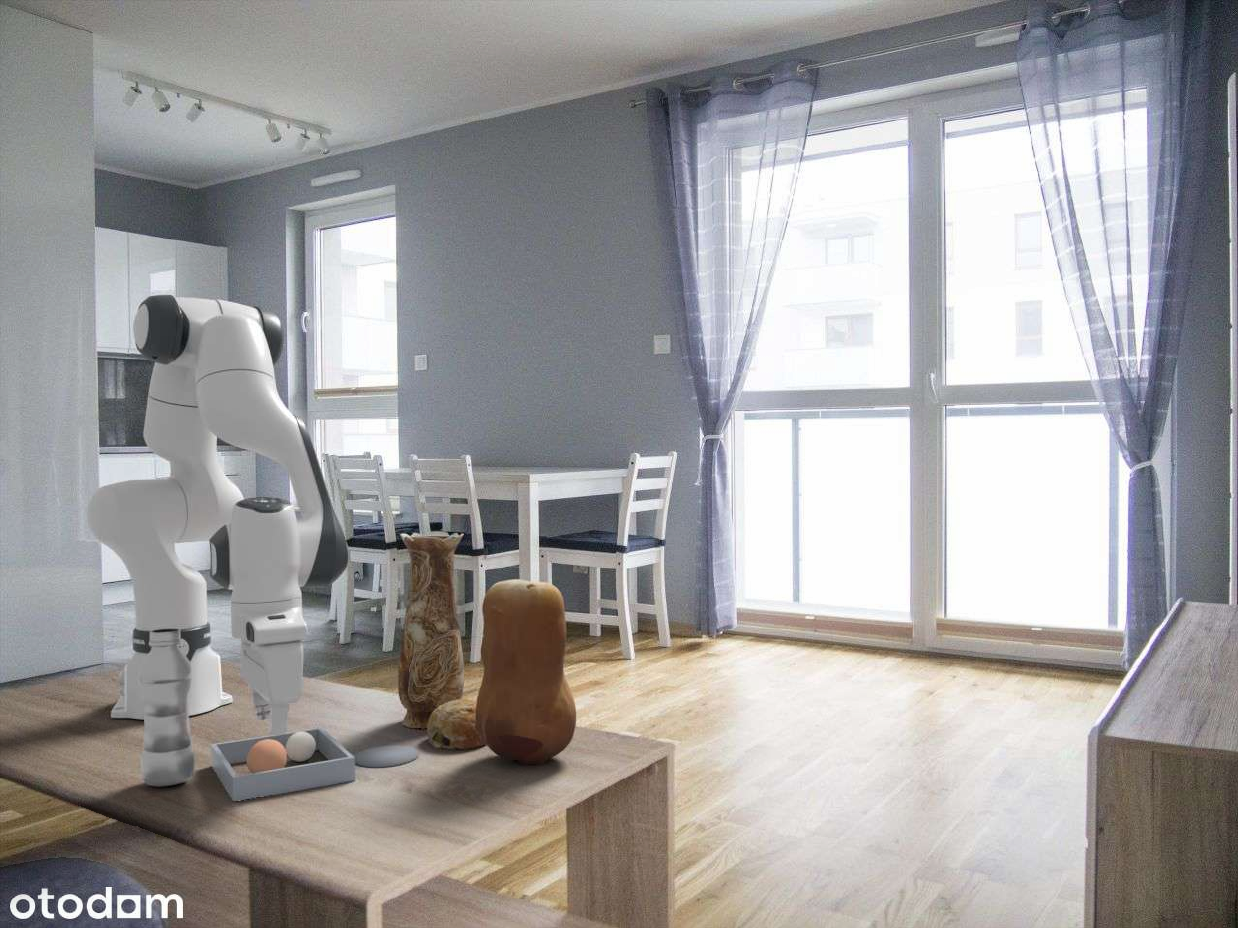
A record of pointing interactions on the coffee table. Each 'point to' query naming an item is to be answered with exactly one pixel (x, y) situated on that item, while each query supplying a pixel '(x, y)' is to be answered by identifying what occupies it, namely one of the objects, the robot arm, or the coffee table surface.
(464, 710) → the bread roll
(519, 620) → the butternut squash
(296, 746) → the cream ball
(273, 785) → the grey square frame
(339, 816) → the coffee table surface
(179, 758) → the plastic bottle
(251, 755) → the terracotta ball
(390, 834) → the coffee table surface
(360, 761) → the pad
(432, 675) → the vase
